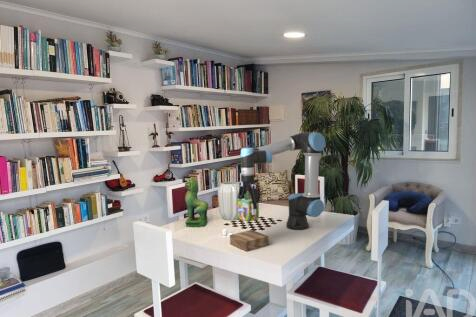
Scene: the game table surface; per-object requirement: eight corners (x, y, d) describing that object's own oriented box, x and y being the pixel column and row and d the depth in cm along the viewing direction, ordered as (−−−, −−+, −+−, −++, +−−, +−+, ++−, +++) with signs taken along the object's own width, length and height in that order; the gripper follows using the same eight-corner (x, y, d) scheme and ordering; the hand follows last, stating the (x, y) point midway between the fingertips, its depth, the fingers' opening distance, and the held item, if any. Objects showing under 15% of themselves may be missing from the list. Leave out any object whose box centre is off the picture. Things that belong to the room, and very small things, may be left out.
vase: (234, 222, 244) (234, 185, 242) (213, 219, 254) (212, 184, 252) (248, 216, 260) (247, 182, 258) (227, 214, 270) (226, 180, 268)
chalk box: (249, 222, 188) (248, 196, 187) (237, 219, 194) (236, 194, 193) (259, 218, 195) (259, 193, 194) (247, 216, 201) (247, 191, 200)
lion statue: (187, 222, 248) (186, 175, 246) (209, 222, 247) (208, 175, 244) (183, 227, 235) (181, 178, 232) (206, 227, 234) (205, 177, 231)
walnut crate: (251, 239, 207) (251, 229, 207) (269, 246, 194) (268, 236, 193) (229, 244, 198) (229, 234, 197) (246, 252, 184) (246, 241, 184)
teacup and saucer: (234, 235, 215) (234, 229, 214) (225, 238, 209) (225, 232, 208) (224, 233, 221) (224, 227, 220) (216, 236, 215) (215, 230, 214)
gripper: (231, 173, 199) (232, 210, 201) (254, 177, 181) (255, 217, 183) (241, 172, 204) (242, 208, 205) (265, 175, 186) (265, 215, 187)
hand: (248, 212), depth 194 cm, fingers closed on chalk box, 10 cm apart
